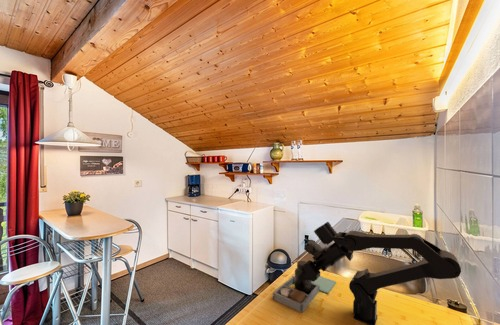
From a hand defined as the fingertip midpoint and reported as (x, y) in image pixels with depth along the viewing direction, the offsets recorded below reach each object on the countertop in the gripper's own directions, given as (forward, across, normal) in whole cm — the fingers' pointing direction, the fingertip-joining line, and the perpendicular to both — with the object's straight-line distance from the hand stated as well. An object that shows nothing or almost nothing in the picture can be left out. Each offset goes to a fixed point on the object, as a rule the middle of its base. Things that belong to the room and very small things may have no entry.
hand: (303, 273), depth 90 cm
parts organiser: (+6, +3, +5) cm, 8 cm away
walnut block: (+4, +8, +6) cm, 11 cm away
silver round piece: (+8, +8, +3) cm, 12 cm away
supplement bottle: (+6, 0, +6) cm, 8 cm away
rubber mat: (+3, -11, +7) cm, 14 cm away
